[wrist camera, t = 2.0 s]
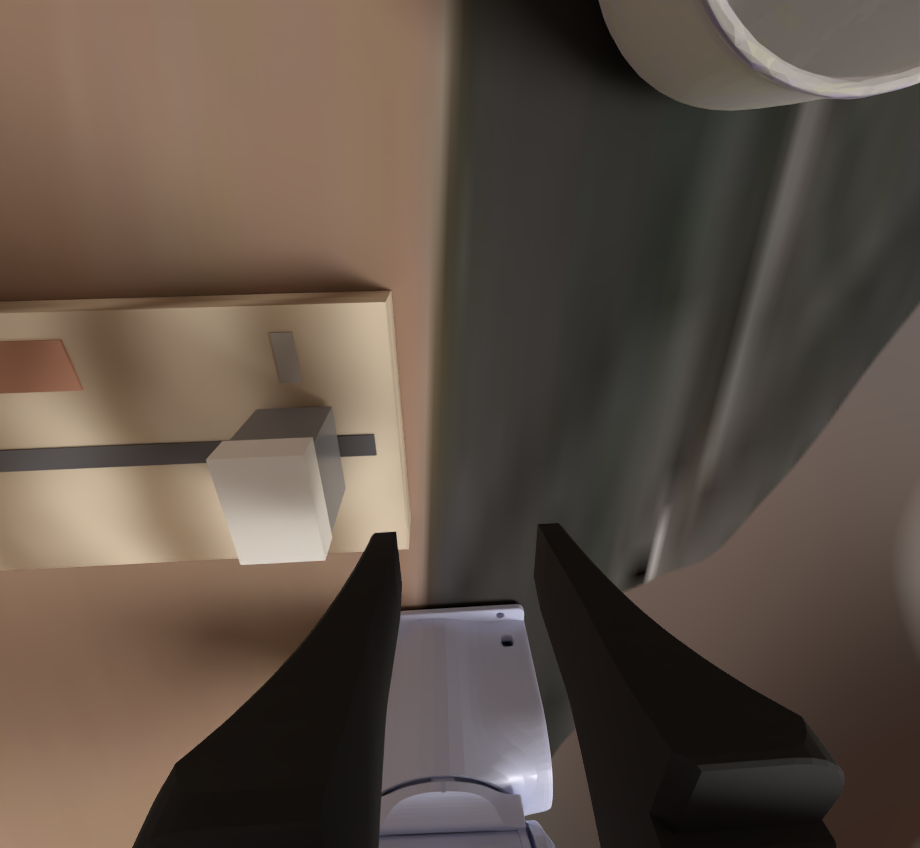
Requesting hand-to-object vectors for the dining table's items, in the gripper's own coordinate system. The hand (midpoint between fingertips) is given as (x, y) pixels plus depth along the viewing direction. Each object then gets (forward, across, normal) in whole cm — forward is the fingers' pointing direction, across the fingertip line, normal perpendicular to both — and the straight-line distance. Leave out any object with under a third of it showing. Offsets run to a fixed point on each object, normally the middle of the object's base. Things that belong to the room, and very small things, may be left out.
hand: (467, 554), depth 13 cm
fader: (+7, +7, 0) cm, 9 cm away
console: (+9, +12, 0) cm, 16 cm away
